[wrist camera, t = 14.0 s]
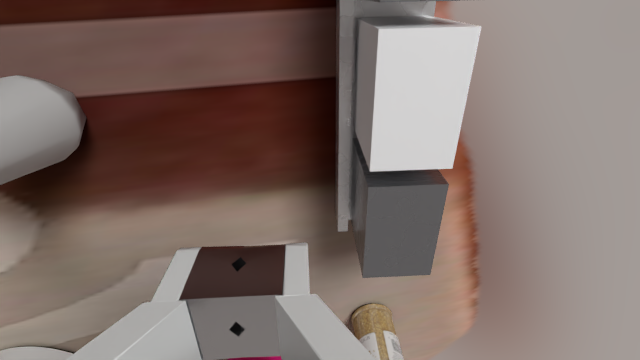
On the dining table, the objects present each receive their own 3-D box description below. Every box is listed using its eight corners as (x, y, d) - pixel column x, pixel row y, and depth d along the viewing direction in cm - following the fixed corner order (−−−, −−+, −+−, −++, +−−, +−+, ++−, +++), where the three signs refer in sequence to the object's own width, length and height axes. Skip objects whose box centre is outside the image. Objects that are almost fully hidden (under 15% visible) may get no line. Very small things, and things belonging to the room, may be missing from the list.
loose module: (416, 123, 24) (455, 168, 18) (353, 125, 24) (369, 171, 18) (431, 15, 20) (485, 26, 14) (356, 17, 20) (378, 29, 14)
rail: (403, 210, 29) (434, 279, 22) (335, 213, 29) (345, 283, 22) (452, -170, 17) (555, -282, 10) (336, -169, 17) (359, -281, 10)
